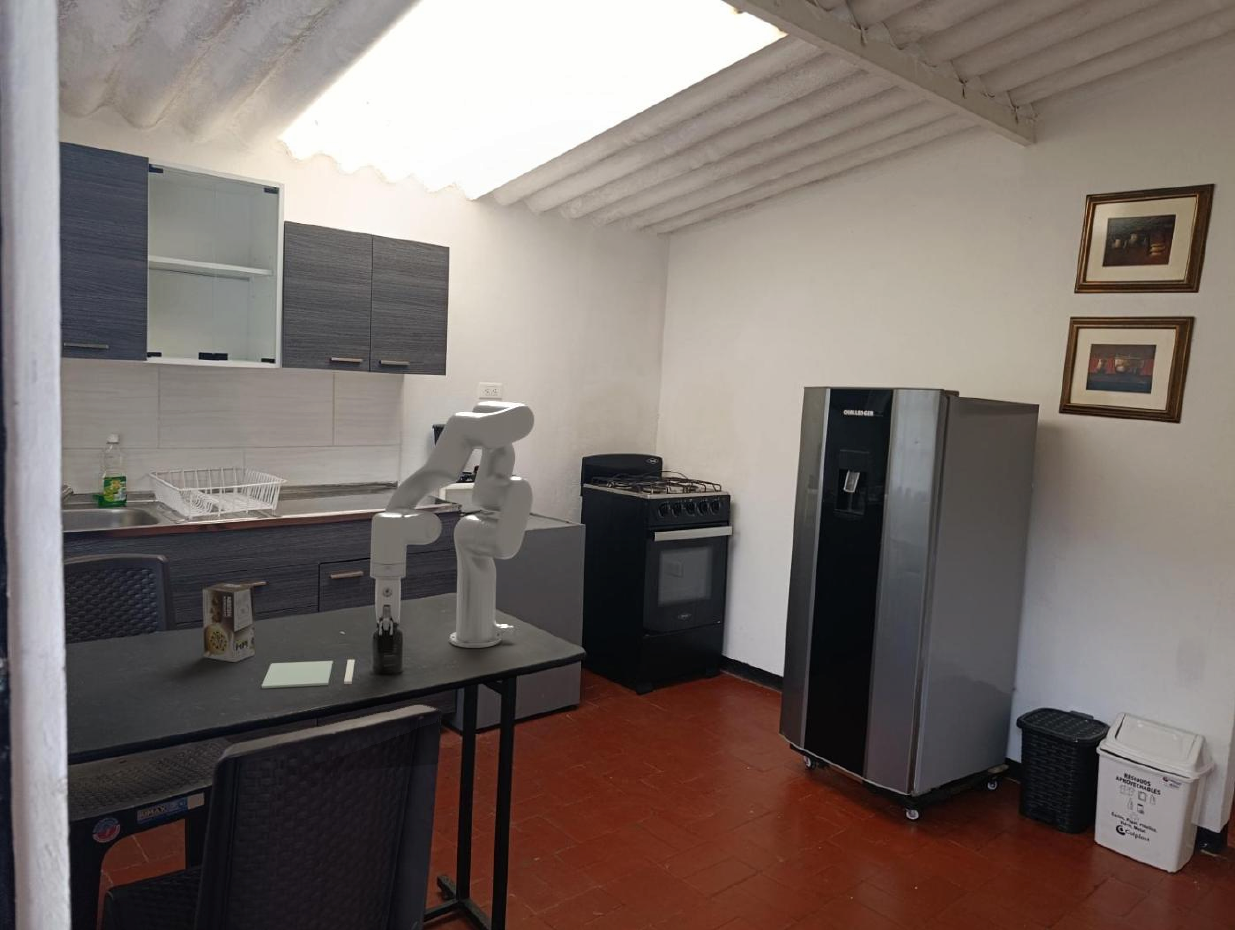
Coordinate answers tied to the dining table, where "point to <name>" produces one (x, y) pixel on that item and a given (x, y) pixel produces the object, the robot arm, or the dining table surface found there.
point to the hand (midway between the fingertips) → (385, 645)
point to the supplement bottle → (388, 661)
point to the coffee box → (228, 621)
